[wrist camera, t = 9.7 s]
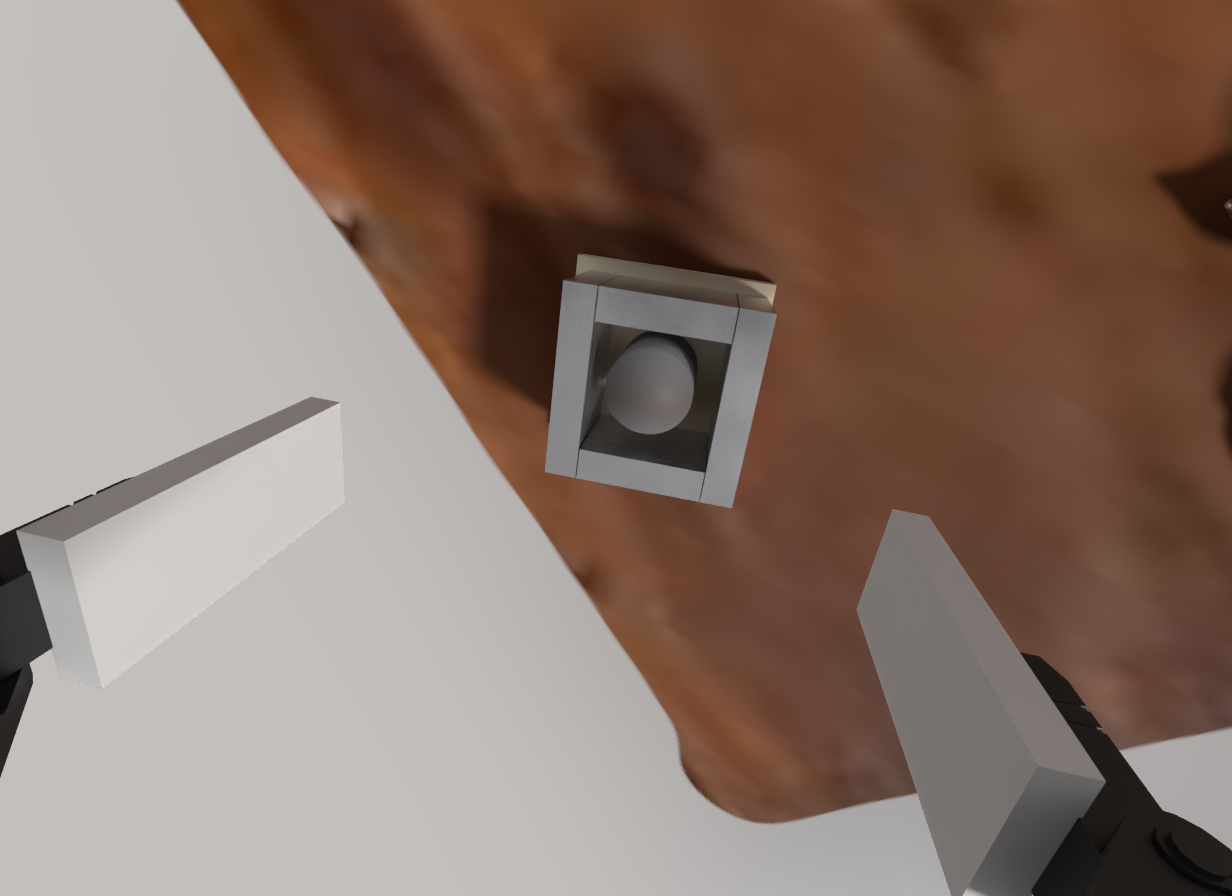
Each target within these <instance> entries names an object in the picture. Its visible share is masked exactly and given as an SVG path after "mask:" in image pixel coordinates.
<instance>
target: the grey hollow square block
mask: <svg viewBox="0 0 1232 896" xmlns="http://www.w3.org/2000/svg"><path fill="white" fill-rule="evenodd" d="M776 316H777V313H776V312H775V310H774V308H773V306H772V305H771V303H770V301H769V299H768V298H766V297H760V296H753V295H747V294H740V293H737V295H736V293H734V292H727V291H721V290H715V289H708V288H702V287H695V286H689V285H682V284H676V283H670V282H663V281H657V280H650V279H644V278H637V277H631V276H625V275H618V274H612V273H605V272H599V271H592V270H589V271H586V272H584V273H581V274H578V275H576V276H573V277H571V278H568V279H565V280H563V288H562V298H561V309H560V319H559V330H558V340H557V351H556V361H555V372H554V382H553V393H552V403H551V413H550V424H549V434H548V445H547V455H546V466H545V472H548V473H553V474H558V475H563V476H568V477H574V478H575V477H576V478H579V479H584V480H589V481H594V482H599V483H604V484H610V485H615V486H620V487H625V488H630V489H635V490H641V491H646V492H651V493H656V494H661V495H666V496H672V497H677V498H682V499H687V500H692V501H697V502H699V498H700V502H703V503H708V504H713V505H718V506H723V507H728V508H732V505H733V501H734V497H735V492H736V488H737V484H738V479H739V475H740V471H741V467H742V462H743V458H744V454H745V449H746V445H747V441H748V436H749V432H750V428H751V423H752V419H753V415H754V411H755V406H756V402H757V398H758V393H759V389H760V385H761V380H762V376H763V372H764V367H765V363H766V359H767V355H768V350H769V346H770V342H771V337H772V333H773V329H774V324H775V320H776ZM612 324H613V325H619V326H625V327H631V328H637V329H643V330H650V331H656V332H662V333H668V334H674V335H680V336H686V337H692V338H698V339H704V340H710V341H716V342H722V343H727V345H726V350H725V355H724V360H723V365H722V370H721V375H720V380H719V384H718V389H717V394H716V399H715V404H714V409H713V414H712V419H711V424H710V428H709V433H704V432H699V431H693V430H688V429H682V428H677V427H674V428H672V429H670V430H668V431H666V432H662V433H658V434H642V433H638V432H635V431H632V430H630V429H628V428H626V427H625V426H623V425H622V424H621V423H620V422H619V421H617V419H616V418H615V417H614V416H610V415H605V414H601V408H602V400H603V392H604V385H605V377H606V369H607V362H608V354H609V346H610V338H611V331H612ZM707 434H708V438H707Z"/></svg>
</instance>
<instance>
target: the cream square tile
mask: <svg viewBox="0 0 1232 896" xmlns="http://www.w3.org/2000/svg"><path fill="white" fill-rule="evenodd" d="M589 270H592V271H599V272H605V273H612V274H618V275H625V276H631V277H637V278H644V279H650V280H657V281H663V282H670V283H676V284H682V285H689V286H695V287H702V288H708V289H715V290H721V291H727V292H734V293H736V295H737V293H740V294H747V295H753V296H760V297H766V298H768V299H769V301H770V303H771V305H772V304H773V299H774V295H775V290H776V286H777V285H776V284H775V283H769V282H763V281H756V280H750V279H743V278H737V277H730V276H724V275H717V274H711V273H704V272H698V271H691V270H685V269H679V268H672V267H666V266H659V265H653V264H646V263H640V262H633V261H627V260H620V259H614V258H608V257H601V256H595V255H588V254H578V258H577V268H576V275H578V274H581V273H584V272H586V271H589ZM726 345H727V343H722V342H716V341H710V340H704V339H698V338H692V337H686V336H680V335H674V334H668V333H662V332H656V331H650V330H643V329H637V328H631V327H625V326H619V325H613V324H612V331H611V338H610V346H609V354H608V362H607V369H606V377H605V385H604V392H603V400H602V408H601V414H605V415H610V416H614V417H615V418H616V419H617V421H619V422H620V423H621V424H622V425H623V426H625V427H626V428H628V429H630V430H632V431H635V432H638V433H642V434H658V433H662V432H666V431H668V430H670V429H672V428H674V427H677V428H682V429H688V430H693V431H699V432H704V433H709V428H710V424H711V419H712V414H713V409H714V404H715V399H716V394H717V389H718V384H719V380H720V375H721V370H722V365H723V360H724V355H725V350H726ZM707 438H708V434H707Z"/></svg>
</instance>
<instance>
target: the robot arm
mask: <svg viewBox="0 0 1232 896" xmlns="http://www.w3.org/2000/svg"><path fill="white" fill-rule="evenodd" d="M344 502H345V492H344V471H343V451H342V429H341V409H340V402H335V401H330V400H324V399H319V398H314V397H310V398H308V399H305V400H303V401H301V402H299V403H297V404H294V405H292V406H290V407H288V408H286V409H283V410H281V411H279V412H277V413H275V414H272V415H270V416H268V417H266V418H263V419H262V420H259V421H257V422H255V423H252V424H251V425H248V426H246V427H244V428H242V429H240V430H237V431H235V432H233V433H230V434H228V435H226V436H224V437H222V438H219V439H217V440H215V441H213V442H211V443H208V444H206V445H204V446H202V447H200V448H198V449H195V450H193V451H191V452H189V453H186V454H184V455H182V456H180V457H177V458H175V459H173V460H171V461H169V462H167V463H164V464H162V465H160V466H158V467H156V468H153V469H151V470H149V471H147V472H145V473H142V474H140V475H138V476H136V477H132V478H128V479H124V480H122V481H120V482H118V483H115V484H113V485H111V486H109V487H107V488H104V489H102V490H100V491H98V492H97V493H96V495H92V494H91V495H89V496H86V497H84V498H82V499H80V500H78V501H75V502H74V504H73V505H72V506H71V505H67V506H65V507H62V508H60V509H58V510H55V511H53V512H51V513H49V514H46V515H44V516H42V517H40V518H38V519H35V520H33V521H31V522H29V523H27V524H24V525H22V526H20V527H18V528H15V529H13V530H11V531H9V532H6V533H4V534H2V535H0V777H1V773H2V771H3V768H4V765H5V762H6V759H7V756H8V754H9V751H10V748H11V745H12V742H13V739H14V736H15V733H16V730H17V727H18V725H19V722H20V719H21V716H22V713H23V710H24V707H25V704H26V701H27V698H28V695H29V693H30V690H31V687H32V684H33V673H32V670H31V667H30V664H29V663H30V662H31V661H33V660H34V659H36V658H37V657H39V656H41V655H42V654H44V653H45V652H47V651H48V650H50V649H52V653H53V656H54V659H55V662H56V666H57V669H58V673H59V676H60V678H62V679H66V680H70V681H74V682H78V683H81V684H85V685H89V686H93V687H97V688H101V689H103V688H104V687H105V686H107V685H108V684H110V683H111V682H112V681H113V680H115V679H116V678H117V677H119V676H120V675H121V674H122V673H124V672H125V671H126V670H128V669H129V668H130V667H132V666H133V665H134V664H135V663H137V662H138V661H139V660H141V659H142V658H143V657H144V656H146V655H147V654H148V653H150V652H151V651H152V650H154V649H155V648H156V647H157V646H159V645H160V644H161V643H162V642H164V641H165V640H167V639H168V638H169V637H170V636H172V635H173V634H174V633H176V632H177V631H178V630H179V629H181V628H182V627H183V626H184V625H186V624H187V623H189V622H190V621H191V620H193V619H194V618H195V617H196V616H198V615H199V614H200V613H201V612H203V611H204V610H205V609H207V608H208V607H209V606H211V605H212V604H213V603H215V602H216V601H217V600H218V599H220V598H221V597H222V596H223V595H225V594H226V593H228V591H230V590H231V589H233V588H234V587H235V586H237V585H238V584H239V583H240V582H242V581H243V580H244V579H246V578H247V577H248V576H250V575H251V574H252V573H253V572H255V571H256V570H257V569H259V568H260V567H261V566H262V565H264V564H265V563H266V562H268V561H269V560H270V559H272V558H273V557H274V556H275V555H277V554H278V553H279V552H281V551H282V550H283V549H285V548H286V547H287V546H288V545H290V544H291V543H292V542H293V541H295V540H296V539H298V538H299V537H300V536H301V535H303V534H304V533H305V532H307V531H308V530H309V529H310V528H312V527H313V526H314V525H316V524H317V523H318V522H320V521H321V520H322V519H323V518H325V517H326V516H327V515H329V514H330V513H331V512H333V511H334V510H335V509H336V508H338V507H339V506H340V505H342V504H343V503H344ZM857 613H858V616H859V619H860V622H861V625H862V628H863V631H864V634H865V637H866V640H867V643H868V646H869V649H870V652H871V655H872V658H873V661H874V664H875V667H876V670H877V673H878V676H879V679H880V682H881V685H882V688H883V691H884V694H885V697H886V700H887V703H888V706H889V710H890V713H891V716H892V719H893V722H894V725H895V728H896V731H897V734H898V737H899V740H900V743H901V746H902V749H903V752H904V755H905V758H906V761H907V764H908V767H909V770H910V773H911V776H912V779H913V782H914V785H915V788H916V791H917V794H918V797H919V800H920V803H921V806H922V808H923V811H924V815H925V818H926V821H927V824H928V827H929V830H930V833H931V836H932V839H933V841H934V845H935V848H936V851H937V854H938V857H939V860H940V863H941V866H942V869H943V872H944V875H945V878H946V881H947V884H948V887H949V890H950V893H951V896H1032V894H1033V896H1232V851H1231V850H1230V849H1229V848H1228V847H1226V846H1225V845H1224V844H1222V843H1221V842H1220V841H1218V840H1217V839H1216V838H1214V837H1213V836H1211V835H1210V834H1209V833H1207V832H1206V831H1205V830H1203V829H1202V828H1200V827H1198V826H1196V825H1194V824H1192V823H1190V822H1188V821H1187V820H1185V819H1183V818H1181V817H1179V816H1177V815H1175V814H1172V813H1169V812H1165V811H1163V810H1162V809H1161V808H1160V807H1159V805H1158V804H1157V802H1156V801H1155V800H1154V798H1153V797H1152V795H1151V794H1150V793H1149V791H1148V790H1147V789H1146V787H1145V786H1144V784H1143V783H1142V782H1141V780H1140V779H1139V778H1138V776H1137V775H1136V774H1135V772H1134V771H1133V769H1132V768H1131V767H1130V765H1129V764H1128V763H1127V761H1126V760H1125V758H1123V756H1122V754H1121V753H1120V752H1119V750H1118V749H1117V748H1116V746H1115V745H1114V743H1113V742H1112V741H1111V739H1110V738H1109V737H1108V735H1107V734H1104V733H1102V729H1103V728H1102V727H1101V726H1100V724H1099V723H1098V722H1097V720H1096V719H1095V717H1094V716H1093V715H1092V713H1091V712H1088V711H1086V705H1085V704H1084V702H1083V701H1082V700H1081V698H1080V697H1079V696H1078V694H1077V693H1076V691H1075V690H1074V689H1073V687H1072V686H1071V685H1070V683H1069V682H1068V681H1067V680H1066V679H1065V678H1064V677H1063V676H1061V675H1060V674H1059V673H1058V672H1057V671H1056V670H1054V669H1053V668H1052V667H1051V666H1050V665H1049V664H1047V663H1046V662H1045V661H1044V660H1043V659H1042V658H1040V657H1039V656H1035V655H1030V654H1025V653H1021V652H1019V651H1018V649H1017V648H1016V646H1015V645H1014V643H1013V642H1012V640H1011V639H1010V637H1009V636H1008V634H1007V633H1006V631H1005V630H1004V628H1003V627H1002V625H1001V624H1000V622H999V621H998V619H997V618H996V616H995V615H994V613H993V612H992V610H991V609H990V607H989V606H988V604H987V603H986V601H985V600H984V598H983V597H982V595H981V594H980V592H979V591H978V590H977V588H976V587H975V585H974V584H973V582H972V581H971V579H970V578H969V576H968V575H967V573H966V572H965V570H964V569H963V567H962V566H961V564H960V563H959V561H958V560H957V558H956V557H955V555H954V554H953V552H952V551H951V549H950V548H949V546H948V545H947V543H946V542H945V540H944V539H943V537H942V536H941V534H940V533H939V531H938V530H937V528H936V527H935V525H934V524H933V522H932V521H931V519H930V518H929V516H925V515H920V514H914V513H909V512H904V511H899V510H894V509H893V510H892V513H891V515H890V518H889V521H888V524H887V527H886V529H885V532H884V535H883V538H882V540H881V543H880V546H879V549H878V551H877V554H876V557H875V560H874V562H873V565H872V568H871V571H870V574H869V576H868V579H867V582H866V585H865V587H864V590H863V593H862V596H861V598H860V601H859V604H858V607H857Z"/></svg>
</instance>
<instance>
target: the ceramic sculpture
mask: <svg viewBox="0 0 1232 896" xmlns="http://www.w3.org/2000/svg"><path fill="white" fill-rule="evenodd" d="M1224 206H1225V208H1226V210H1227V212H1228V214H1229V216H1230V217H1231V219H1232V199H1230V200H1228V201H1227V202H1226V203H1225V204H1224Z"/></svg>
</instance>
